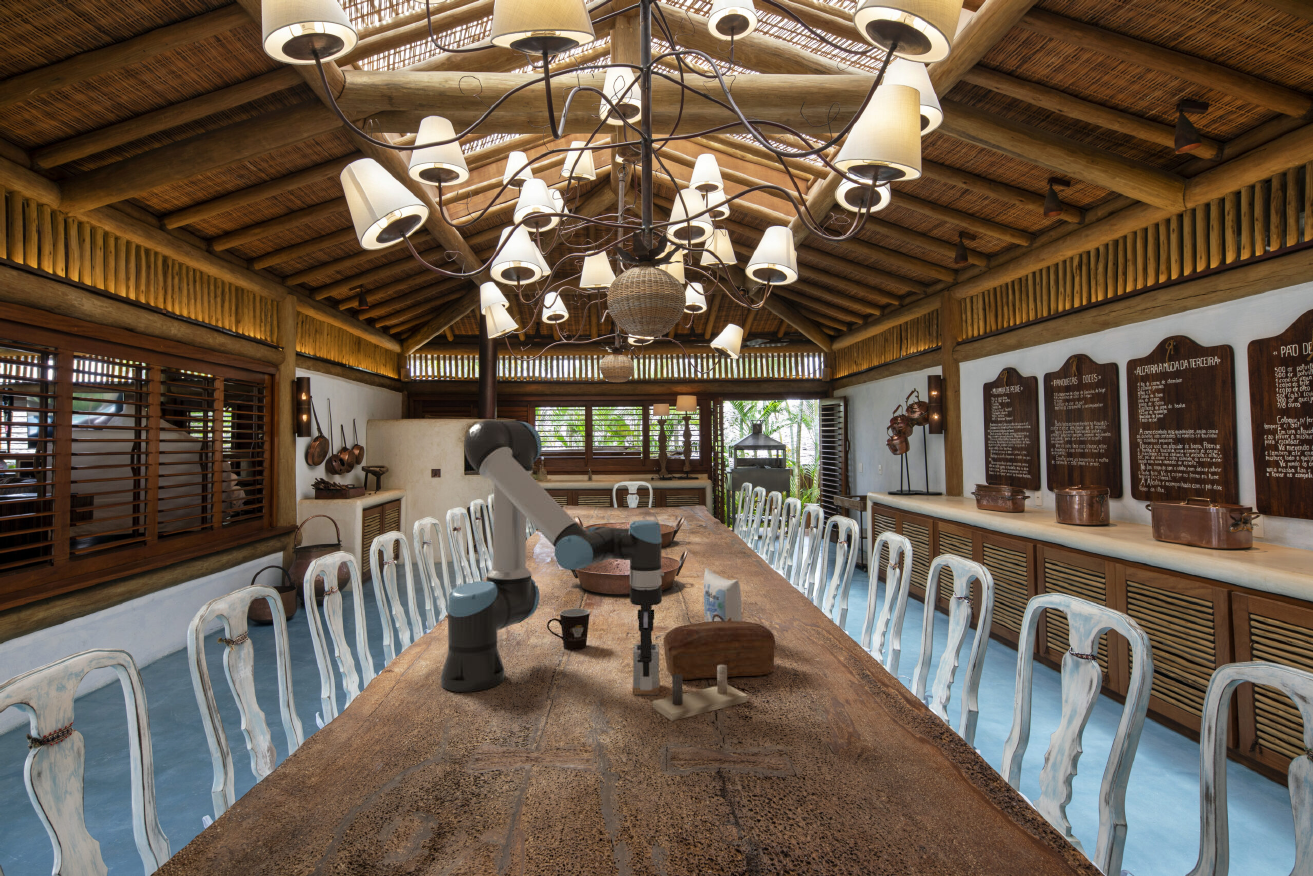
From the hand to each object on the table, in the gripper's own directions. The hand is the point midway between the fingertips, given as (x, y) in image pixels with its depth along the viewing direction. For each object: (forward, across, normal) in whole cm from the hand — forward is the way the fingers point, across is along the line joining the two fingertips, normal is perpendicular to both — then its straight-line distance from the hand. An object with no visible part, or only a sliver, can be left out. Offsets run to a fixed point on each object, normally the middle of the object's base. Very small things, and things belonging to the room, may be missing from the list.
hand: (646, 683), depth 155 cm
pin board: (+1, -9, -12) cm, 15 cm away
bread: (+2, +12, -18) cm, 22 cm away
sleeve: (+1, 0, 0) cm, 1 cm away
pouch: (+2, +38, -22) cm, 44 cm away
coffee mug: (+2, +33, +23) cm, 40 cm away
